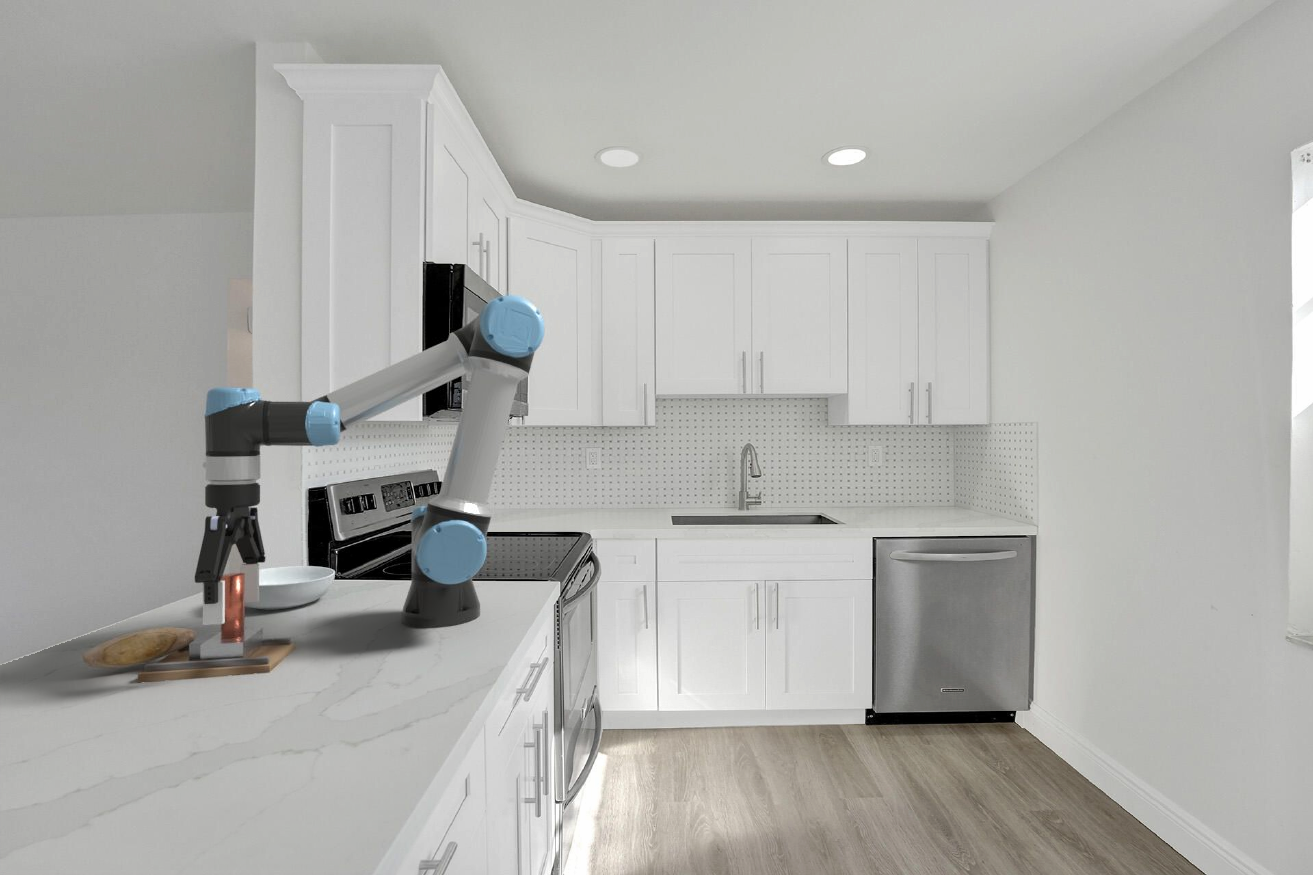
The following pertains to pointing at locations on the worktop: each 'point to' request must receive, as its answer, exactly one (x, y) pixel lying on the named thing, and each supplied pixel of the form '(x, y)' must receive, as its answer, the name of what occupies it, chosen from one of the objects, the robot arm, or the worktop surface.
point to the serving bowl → (291, 586)
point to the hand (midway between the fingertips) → (232, 612)
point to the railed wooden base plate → (217, 663)
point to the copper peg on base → (229, 628)
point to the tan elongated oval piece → (138, 647)
